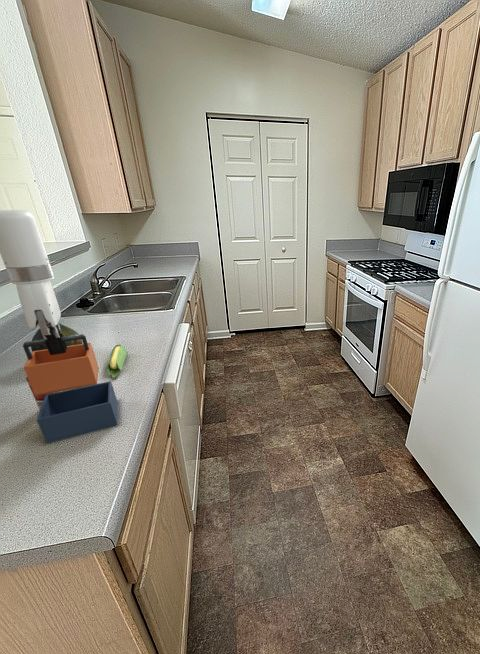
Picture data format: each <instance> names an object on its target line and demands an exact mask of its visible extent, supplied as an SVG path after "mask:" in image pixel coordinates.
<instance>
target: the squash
mask: <svg viewBox="0 0 480 654" xmlns="http://www.w3.org/2000/svg"><path fill="white" fill-rule="evenodd" d="M59 325H60V329H61V333H59V334H63V337H64V336H71V335H79V334H80V333H78V332H77V331H76V330H74V329H73V328H71V327H69V326H66V325H64V324H62V323H60V322H59ZM43 339H44V337H43V335H42V333H41V330H40V328H39V329H38V330H37V331H36V332H35V333H34V335H33V336H32V339H31V341H36V340H43ZM78 344H83V341H82V339H79V340H73V341H66V345H67V346H72V345H78ZM46 349H48V348H47V345H46V344H45V345H39V346H32V347H30V351H31V353H32V352H33V351H39V350H46Z"/></svg>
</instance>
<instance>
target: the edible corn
mask: <svg viewBox="0 0 480 654" xmlns="http://www.w3.org/2000/svg"><path fill="white" fill-rule="evenodd" d="M127 356H128V350H127V349H126V347H124V346H123V345H121V344H116V345H115V346H114V347H113V348H112V349H111V351H110V354H109V359H108V362H107V366H106V371H107V374H108V376H110V375H111V378H114V379H115V378H116V377H117V376H118V375H119V374H120V373H121V372H122V369H123V367H124V363H125V362H126V359H127Z"/></svg>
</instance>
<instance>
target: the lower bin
mask: <svg viewBox="0 0 480 654" xmlns="http://www.w3.org/2000/svg"><path fill="white" fill-rule="evenodd" d="M36 422H37V425H38V427H39V429H40V431H41V433H42V435H43V438H44V441H45V442H46V444H50V443H53V442H57V441H60V440H64V439H68V438H72V437H76V436H79V435H83V434H87V433H92V432H95V431H99V430H103V429H106V428H111V427H115V426H118V399H117V396H116V392H115V389H114V386H113V383H112V381H111V380H110V381H104V382H99V383H97V384H96V385H91V386H86V387H80V388H75V389H70V390H65V391H60V392H56V393H52V394H47V395H45V398H44V401H43V403H42V406H41V409H39V412H38V415H37V418H36Z"/></svg>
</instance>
